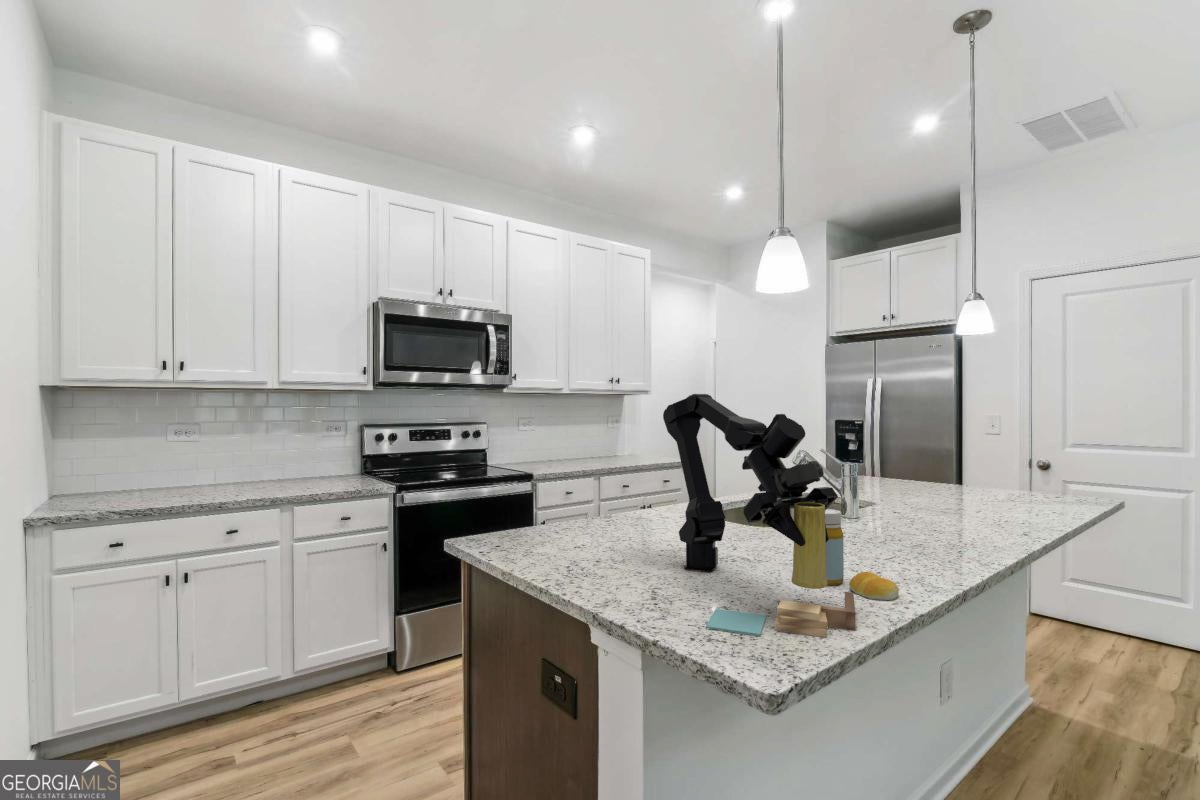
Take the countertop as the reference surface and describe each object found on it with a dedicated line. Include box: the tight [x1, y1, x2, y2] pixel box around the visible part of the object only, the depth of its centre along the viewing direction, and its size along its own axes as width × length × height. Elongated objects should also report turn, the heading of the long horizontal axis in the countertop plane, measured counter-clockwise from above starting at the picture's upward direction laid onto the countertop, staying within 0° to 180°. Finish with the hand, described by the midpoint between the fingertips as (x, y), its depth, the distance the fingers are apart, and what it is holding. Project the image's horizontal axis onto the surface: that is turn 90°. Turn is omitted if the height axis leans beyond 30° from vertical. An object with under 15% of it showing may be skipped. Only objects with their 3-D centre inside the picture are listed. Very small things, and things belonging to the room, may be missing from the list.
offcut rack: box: [774, 591, 856, 638], centre depth 102 cm, size 12×16×4 cm
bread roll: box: [849, 571, 900, 601], centre depth 116 cm, size 8×9×4 cm
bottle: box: [825, 508, 845, 586], centre depth 124 cm, size 7×7×15 cm
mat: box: [705, 608, 767, 637], centre depth 101 cm, size 9×9×1 cm
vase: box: [790, 502, 828, 590], centre depth 104 cm, size 6×6×14 cm
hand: (815, 543), depth 103 cm, fingers closed on vase, 5 cm apart
